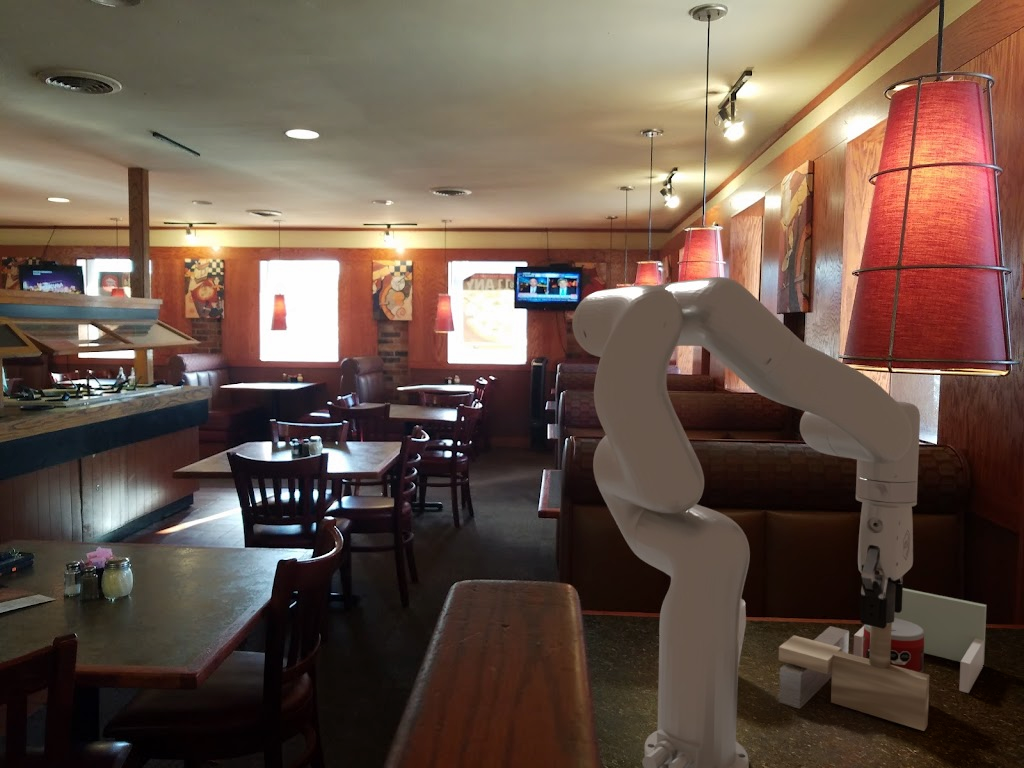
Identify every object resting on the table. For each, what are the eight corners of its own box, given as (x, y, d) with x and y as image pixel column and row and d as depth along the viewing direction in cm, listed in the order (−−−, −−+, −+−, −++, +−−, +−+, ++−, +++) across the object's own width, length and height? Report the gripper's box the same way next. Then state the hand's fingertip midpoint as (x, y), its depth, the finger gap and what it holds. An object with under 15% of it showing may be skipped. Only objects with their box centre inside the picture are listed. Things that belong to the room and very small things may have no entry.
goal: (968, 693, 112) (971, 627, 111) (853, 661, 122) (855, 602, 122) (983, 665, 122) (986, 604, 121) (875, 638, 132) (877, 583, 132)
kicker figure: (920, 737, 98) (926, 598, 97) (777, 691, 110) (781, 568, 109) (930, 719, 103) (936, 587, 102) (792, 678, 115) (796, 560, 114)
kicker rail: (799, 708, 106) (800, 674, 106) (778, 702, 108) (780, 668, 108) (847, 660, 123) (849, 630, 123) (829, 655, 125) (830, 626, 125)
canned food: (849, 693, 111) (852, 621, 111) (887, 683, 115) (889, 613, 114) (895, 716, 104) (898, 640, 104) (933, 705, 108) (936, 631, 107)
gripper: (899, 505, 94) (894, 643, 94) (931, 486, 107) (926, 607, 108) (837, 496, 98) (832, 628, 99) (874, 479, 112) (870, 596, 113)
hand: (881, 616), depth 103 cm, fingers open, 7 cm apart
